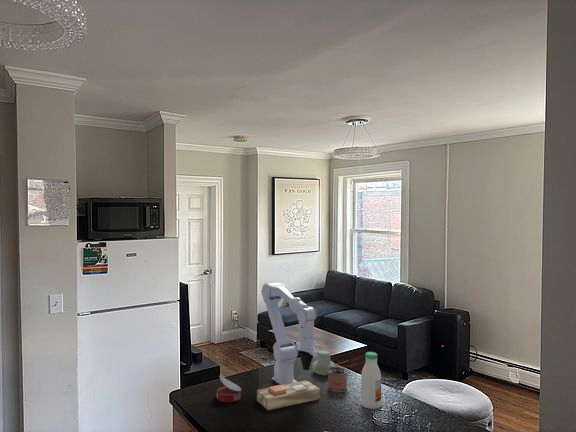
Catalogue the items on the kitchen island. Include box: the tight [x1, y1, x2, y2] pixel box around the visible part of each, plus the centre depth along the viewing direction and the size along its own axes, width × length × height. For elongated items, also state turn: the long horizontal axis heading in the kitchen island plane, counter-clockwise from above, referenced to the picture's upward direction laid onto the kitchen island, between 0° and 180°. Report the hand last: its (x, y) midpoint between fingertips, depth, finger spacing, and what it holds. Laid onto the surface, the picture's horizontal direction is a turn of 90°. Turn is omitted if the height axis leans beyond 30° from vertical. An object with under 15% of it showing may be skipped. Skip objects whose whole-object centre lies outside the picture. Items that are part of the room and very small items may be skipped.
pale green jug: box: [311, 349, 337, 377], centre depth 198 cm, size 11×8×10 cm
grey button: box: [291, 384, 308, 391], centre depth 170 cm, size 5×5×3 cm
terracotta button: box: [268, 384, 286, 396], centre depth 165 cm, size 5×5×3 cm
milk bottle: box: [360, 351, 382, 410], centre depth 164 cm, size 8×8×20 cm
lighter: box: [327, 365, 348, 393], centre depth 178 cm, size 8×3×10 cm, turn 84°
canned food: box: [216, 374, 242, 403], centre depth 169 cm, size 11×10×10 cm
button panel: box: [256, 379, 321, 411], centre depth 168 cm, size 10×23×4 cm, turn 119°
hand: (306, 369), depth 175 cm, fingers closed
